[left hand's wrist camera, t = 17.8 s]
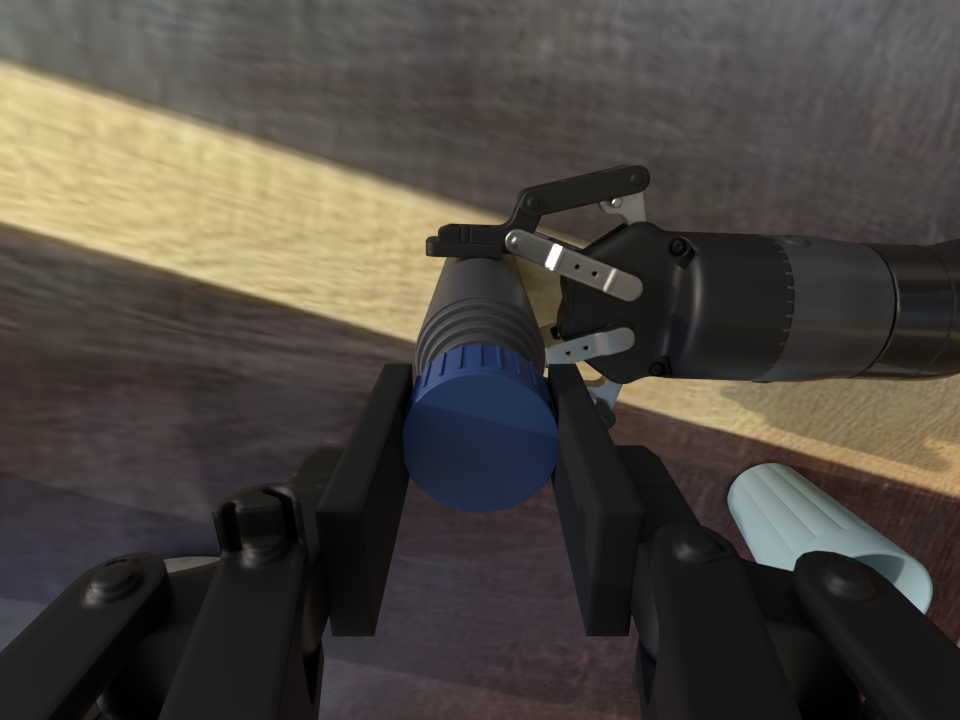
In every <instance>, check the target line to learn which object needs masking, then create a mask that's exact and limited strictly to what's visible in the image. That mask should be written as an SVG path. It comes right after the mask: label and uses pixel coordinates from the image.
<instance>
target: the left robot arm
mask: <svg viewBox="0 0 960 720" xmlns="http://www.w3.org/2000/svg"><path fill="white" fill-rule="evenodd" d="M412 390H413V375H412V364H385V365H384V367H383V369H382V371H381V373H380V375H379V378H378V380H377V382H376V384H375V386H374V388H373V390H372V392H371V394H370V396H369V399H368V401H367V403H366V405H365V407H364V409H363V411H362V413H361V415H360V417H359V420H358V422H357V424H356V426H355V428H354V430H353V432H352V434H351V436H350V438H349V441H348V443H347V445H346V447H317V448H316V449H315V450H313V451H312V452H310V453H309V454H308V455H306V456H305V457H304V458H302V459H301V461H300V462H299V464H298V466H297V467H296V469H295V471H294V472H293V476H291V477H290V479H289V480H288V482H287V484H286V485H284V484H280V483H264V484H260V485H255V486H250V487H247V488H244V489H242V490H240V491H237V492H235V493H232V494H231V495H230V496H228V497H227V498H225V499H224V500H222V501H221V502H220V503H219V504H218V505H217V507H216V508H215V509H214V510H213V512H212V515H213V519H214V524H215V528H216V532H217V537H218V541H219V546H220V550H221V554H222V555H221V557H220V560H219V561H216V562H212V563H209V564H206V565H202V566H198V567H193V568H189V569H184V570H180V571H175V572H171V573H168V571H167V567H166V564H165V562H164V561H163V560H162V559H161V558H160V557H159V556H158V555H155V554H150V553H145V552H144V553H133V554H126V555H123V556H119V557H116V558H113V559H110V560H107V561H105V562H103V563H101V564H99V565H98V566H96V567H94V568H92V569H90V570H88V571H87V572H86V573H84V574H83V575H82V576H80V577H79V578H78V579H77V580H75V581H74V582H73V583H72V584H71V585H70V586H69V587H68V588H67V589H66V590H65V591H64V592H63V593H61V594H60V595H59V596H58V597H57V598H56V599H55V600H54V601H53V602H52V603H51V604H50V605H49V606H48V607H47V608H46V609H45V610H44V611H43V612H42V613H41V614H40V615H39V616H38V617H37V618H36V619H35V620H34V621H33V622H31V623H30V624H29V625H28V626H27V627H26V628H25V629H24V630H23V631H22V632H21V633H20V634H19V635H18V636H17V637H16V638H15V639H14V640H13V641H12V642H11V643H10V644H9V645H8V646H7V647H6V648H5V649H4V650H3V651H2V652H0V720H318V717H319V707H320V696H321V686H322V676H323V666H324V654H323V647H322V640H321V638H322V635H323V632H324V629H325V626H326V623H327V620H328V617H330V624H331V631H332V636H374V634H375V630H376V625H377V621H378V616H379V612H380V607H381V603H382V598H383V594H384V589H385V585H386V581H387V576H388V572H389V567H390V563H391V558H392V554H393V549H394V545H395V540H396V536H397V531H398V527H399V523H400V518H401V514H402V509H403V505H404V500H405V496H406V491H407V487H408V482H409V478H410V475H409V473H408V471H407V469H406V467H405V464H404V449H403V433H402V427H403V423H404V420H405V417H404V415H405V412H406V408H407V405H408V402H409V398H410V395H411V392H412ZM547 390H549V392H550V396H551V399H552V402H553V406H554V409H555V412H556V421H557V424H558V442H557V459H556V466H555V468H554V471H553V472H552V474H551V480H552V484H553V489H554V493H555V498H556V502H557V507H558V511H559V516H560V520H561V525H562V529H563V533H564V538H565V542H566V547H567V551H568V556H569V560H570V565H571V569H572V574H573V578H574V582H575V587H576V591H577V596H578V600H579V605H580V609H581V614H582V618H583V623H584V627H585V631H586V636H629V628H630V621H631V614H632V615H633V618H634V621H635V624H636V627H637V630H638V633H639V640H638V647H637V653H636V660H635V667H634V673H633V680H632V687H631V690H636V691H638V686H639V695H640V705H641V716H642V720H960V648H959V647H958V646H957V645H956V644H955V643H954V642H952V641H951V640H950V639H949V638H948V637H947V636H946V635H945V634H944V633H943V632H942V631H941V630H940V629H939V628H938V627H937V626H936V625H935V624H934V623H933V622H932V621H931V620H930V619H929V618H927V617H926V616H925V615H924V614H923V613H922V612H921V611H920V610H919V609H918V608H917V607H916V606H915V605H914V604H913V603H912V602H911V601H910V600H909V599H908V598H907V597H906V596H905V595H904V594H902V593H901V592H900V591H899V590H898V589H897V588H896V587H895V586H894V585H893V584H892V583H891V582H890V581H889V580H888V579H886V578H885V577H884V576H883V575H881V574H880V573H879V572H877V571H876V570H875V569H873V568H872V567H870V566H868V565H866V564H864V563H862V562H860V561H858V560H856V559H854V558H852V557H849V556H846V555H842V554H839V553H836V552H829V551H819V550H816V551H811V552H806V553H803V554H802V555H801V556H800V557H799V558H798V559H797V560H796V563H795V566H794V570H793V571H790V570H786V569H781V568H777V567H772V566H768V565H763V564H759V563H755V562H752V561H749V560H745V559H742V558H740V557H739V554H738V553H737V551H736V550H735V548H734V547H733V545H732V544H731V543H730V542H729V541H728V540H727V539H725V538H724V537H723V536H722V535H720V534H719V533H717V532H715V531H713V530H711V529H708V528H706V527H704V526H701V525H700V523H699V522H698V520H697V518H696V517H695V515H694V513H693V512H692V510H691V508H690V507H689V505H688V504H687V502H686V500H685V499H684V497H683V495H682V494H681V492H680V490H679V489H678V487H677V486H675V482H674V481H673V479H672V477H671V476H670V475H668V471H667V469H666V467H665V466H664V464H663V463H662V461H661V459H660V458H659V457H658V456H657V455H655V454H654V453H652V452H651V451H650V450H648V449H647V448H646V447H644V446H614V443H613V441H612V439H611V437H610V435H609V433H608V431H607V429H606V427H605V425H604V422H603V420H602V418H601V416H600V414H599V412H598V410H597V408H596V406H595V404H594V401H593V399H592V397H591V395H590V393H589V391H588V389H587V387H586V385H585V383H584V380H583V378H582V376H581V374H580V372H579V370H578V368H577V366H576V364H549V367H548V387H547ZM867 701H868V702H867ZM870 705H871V706H872V707H871V706H870Z"/></svg>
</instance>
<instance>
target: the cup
mask: <svg viewBox="0 0 960 720" xmlns="http://www.w3.org/2000/svg"><path fill="white" fill-rule="evenodd" d="M728 506H729V510H730V512H731V514H732V516H733V518H734V520H735V522H736V524H737V526H738V528H739V529H740V531H741V533H742V535H743V537H744V539H745V541H746V543H747V545H748V547H749V549H750V550H751V552H752V554H753V556H754V558H755V560H756V562H757V563H759V564H763V565H768V566H772V567H777V568H781V569H786V570H790V571H793V570H794V566H795V563H796V560H797V559H798V558H799V557H800V556H801V555H802V554H803V553H806V552H811V551H816V550H819V551H829V552H836V553H839V554H842V555H846V556H849V557H852V558H854V559H856V560H858V561H860V562H862V563H864V564H866V565H868V566H870V567H872V568H873V569H875V570H876V571H877V572H879V573H880V574H881V575H883V576H884V577H885V578H886V579H888V580H889V581H890V582H891V583H892V584H893V585H894V586H895V587H896V588H897V589H898V590H899V591H900V592H901V593H902V594H904V595H905V596H906V597H907V598H908V599H909V600H910V601H911V602H912V603H913V604H914V605H915V606H916V607H917V608H918V609H919V610H920V611H921V612H922V613H923V614H924V615H925V614H926V612H927V610H928V608H929V605H930V603H931V600H932V594H933V586H932V581H931V578H930V575H929V573H928V572H927V570H926V569H925V567H924V566H923V565H922V564H921V563H919V562H918V561H917V560H916V559H914V558H913V557H912V556H910V555H909V554H907V553H906V552H905V551H903V550H902V549H901V548H899V547H898V546H897V545H895V544H894V543H893V542H891V541H890V540H888V539H887V538H886V537H884V536H883V535H881V534H880V533H879V532H877V531H876V530H875V529H873V528H872V527H871V526H869V525H868V524H867V523H865V522H864V521H863V520H861V519H860V518H859V517H857V516H856V515H855V514H853V513H852V512H850V511H849V510H848V509H846V508H845V507H844V506H842V505H841V504H840V503H838V502H837V501H836V500H834V499H833V498H832V497H830V496H829V495H828V494H826V493H825V492H823V491H822V490H821V489H819V488H818V487H817V486H815V485H814V484H813V483H811V482H810V481H809V480H807V479H806V478H804V477H803V476H802V475H800V474H799V473H798V472H796V471H795V470H793V469H792V468H790V467H788V466H785V465H782V464H778V463H767V464H761V465H757V466H755V467H752V468H750V469H748V470H746V471H745V472H743V473H742V474H741V475H740V476H739V477H738V478H737V479H736V480H735V481H734V482H733V484H732V486H731V488H730V490H729V493H728Z"/></svg>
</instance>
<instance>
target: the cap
mask: <svg viewBox="0 0 960 720" xmlns="http://www.w3.org/2000/svg"><path fill="white" fill-rule="evenodd" d="M404 417H405V420H404V423H403V427H402V433H403V449H404V464H405V467H406V469H407V471H408V473H409V475H410V477H411V478H412V479H413V481H414V482H415V484H416V485H417V486H418V487H419V488H420V489H421V490H422V491H423V492H424V493H426V494H427V495H428V496H429V497H431V498H432V499H434V500H435V501H437V502H439V503H441V504H443V505H445V506H448V507H451V508H453V509H457V510H461V511H466V512H477V513H485V512H494V511H499V510H504V509H507V508H510V507H513V506H515V505H517V504H520V503H522V502H523V501H525V500H527V499H528V498H530V497H531V496H532V495H534V494H535V493H536V492H537V491H538V490H539V489H540V488H541V487H542V486H543V485H544V484H545V483H546V482H547V480H548V479H549V477H550V476H551V474H552V472H553V471H554V468H555V466H556V459H557V442H558V424H557V421H556V412H555V409H554V406H553V402H552V399H551V396H550V392H549V390H547V387H546V384H545V381H544V377H543V375H542V374H541V375H540V374H539V373H538V372H537V370H536V369H535V368H534V367H533V364H532V362H531V361H530V362H528V361H527V360H525V359H524V358H523V357H521V356H520V355H518V353H517V352H516V351H515V352H512V351H510V350H508V349H505V348H501V347H500V345H497V346H493V345H481V343H478V344H477V345H467V346H463V345H461V346H460V347H459V348H456V349H453V350H450V351H448V352H443V353H442V355H441V356H439V357H438V358H436V359H435V360H434V361H433V362H429V363H428V365H427V367H426V368H425V370H424V371H423V372H422V373H421V375H418V376H417V378H416V382H415V385H414V389H413V390H412V392H411V395H410V398H409V402H408V405H407V408H406V412H405V415H404Z"/></svg>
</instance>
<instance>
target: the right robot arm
mask: <svg viewBox="0 0 960 720" xmlns="http://www.w3.org/2000/svg"><path fill="white" fill-rule="evenodd" d="M649 182H650V174H649V172H648V170H647V169H646V168H645V167H643V166H636V165H623V166H618V167H614V168H610V169H605V170H601V171H597V172H593V173H588V174H584V175H580V176H576V177H571V178H567V179H563V180H559V181H554V182H550V183H546V184H542V185H537V186H533V187H529V188H525V189H523V190H522V191H521V192H520V193H519V195H518V198H517V203H516V206H515V208H514V211H513V213H512V215H511V217H510V219H509V220H508V221H507V222H506V223H504V224H502V225H475V224H448V225H445V226H442V227H440V228H439V230H438V236H431V237H428V238H427V240H426V255H427V256H431V257H456V258H487V259H502V254H514V255H516V256H519V257H521V258H524V259H527V260H529V261H532V262H534V263H537V264H539V265H542V266H544V267H546V268H548V269H550V270H551V271H554V272H556V273H558V274H561V279H560V285H561V291H562V301H561V304H560V306H559V309H558V312H557V322H556V323H553V324H549V325H546V326H542V327H540V328H539V329H540V332H541V335H542V338H543V341H544V345H545V353H546V359H545V367H544V368H548V367H549V364H572V363H575V362H579V361H582V360H583V361H585V362H586V363H587V364H589V365H590V366H591V367H593V368H594V369H595V370H596V371H598V372H599V373H600V374H602V376H601V377H600V378H599V379H597V380H592V381H591V380H584V383H585V385H586V387H587V389H588V391H589V393H590V395H591V397H592V399H593V401H594V404H595V406H596V408H597V410H598V412H599V414H600V416H601V418H602V420H603V422H604V425H605V427H606V429H610V428H611V427H612V426H613V425H614V424H615V421H616V418H615V415H614V413H613V411H612V408H613V406H614V403H615V401H616V399H617V396H618V394H619V392H620V389H621V387H622V385H623V384H628V383H631V382H633V381H635V380H638V379H640V378H644V377H648V376H655V377H663V378H678V379H710V380H741V381H752V382H756V383H771V382H804V381H816V380H824V379H868V380H896V381H926V380H937V379H942V378H947V377H951V376H954V375H957V374H959V373H960V239H955V240H951V241H946V242H942V243H937V244H933V245H928V246H917V245H897V244H868V243H849V242H842V241H837V240H831V239H825V238H819V237H810V236H793V235H761V234H732V233H704V232H675V231H665V230H662V229H660V228H659V227H657V226H656V225H654V224H653V223H650V222H647V216H646V206H645V197H644V190H645V189H646V188H647V186H648V185H649ZM594 203H597V205H598V207H599V209H600V210H601V211H603V212H605V213H608V214H618V215H620V216H621V218H622V220H623V224H621V225H620V226H618V227H617V228H615V229H613V230H612V231H610V232H609V233H607V234H606V235H604V236H603V237H601V238H600V239H598V240H596V241H595V242H593V243H592V244H590V245H589V246H587V247H586V248H584V249H581V248H578V247H576V246H573V245H571V244H568V243H566V242H563V241H561V240H558V239H556V238H553V237H549V236H546V235H544V234H541V233H539V232H536V231H535V230H536V227H537V225H538V223H539V220H540V218H541V216H542V215H546V214H550V213H554V212H559V211H563V210H567V209H572V208H576V207H581V206H585V205H589V204H594ZM559 333H560V334H559ZM567 351H568V352H567ZM544 381H545V384H546V387H548V378H547V377H544Z"/></svg>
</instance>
